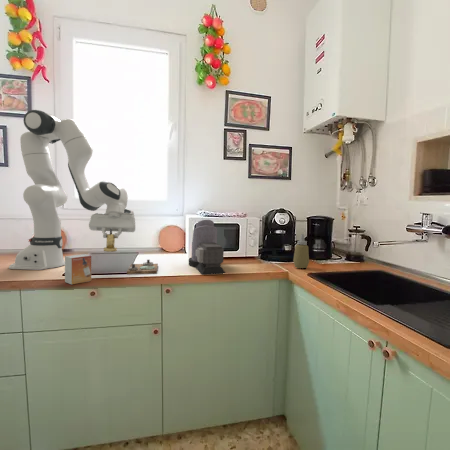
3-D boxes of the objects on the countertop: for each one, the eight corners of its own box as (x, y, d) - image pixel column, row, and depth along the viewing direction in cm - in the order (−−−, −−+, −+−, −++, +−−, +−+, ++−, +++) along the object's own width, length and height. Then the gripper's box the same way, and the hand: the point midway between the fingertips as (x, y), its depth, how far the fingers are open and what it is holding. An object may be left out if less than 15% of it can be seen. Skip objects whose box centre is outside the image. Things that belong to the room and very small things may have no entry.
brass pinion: (102, 251, 125) (103, 229, 124) (104, 249, 130) (105, 227, 130) (115, 251, 126) (116, 229, 125) (117, 249, 132) (118, 228, 131)
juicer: (185, 261, 157) (186, 217, 155) (213, 260, 162) (214, 218, 160) (197, 275, 128) (198, 221, 126) (230, 273, 133) (232, 222, 131)
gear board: (126, 274, 126) (126, 265, 126) (131, 266, 141) (131, 258, 141) (156, 273, 129) (156, 265, 129) (157, 266, 144) (157, 258, 143)
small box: (71, 285, 108) (71, 258, 107) (64, 282, 111) (64, 256, 110) (91, 281, 114) (91, 255, 113) (85, 278, 118) (84, 253, 117)
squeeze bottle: (311, 268, 149) (313, 234, 148) (304, 270, 144) (306, 235, 142) (297, 265, 155) (299, 233, 154) (290, 267, 149) (291, 234, 148)
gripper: (91, 208, 132) (84, 231, 123) (136, 211, 136) (133, 234, 127) (93, 217, 136) (86, 240, 127) (137, 220, 141) (134, 242, 132)
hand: (110, 237), depth 127 cm, fingers closed on brass pinion, 3 cm apart
